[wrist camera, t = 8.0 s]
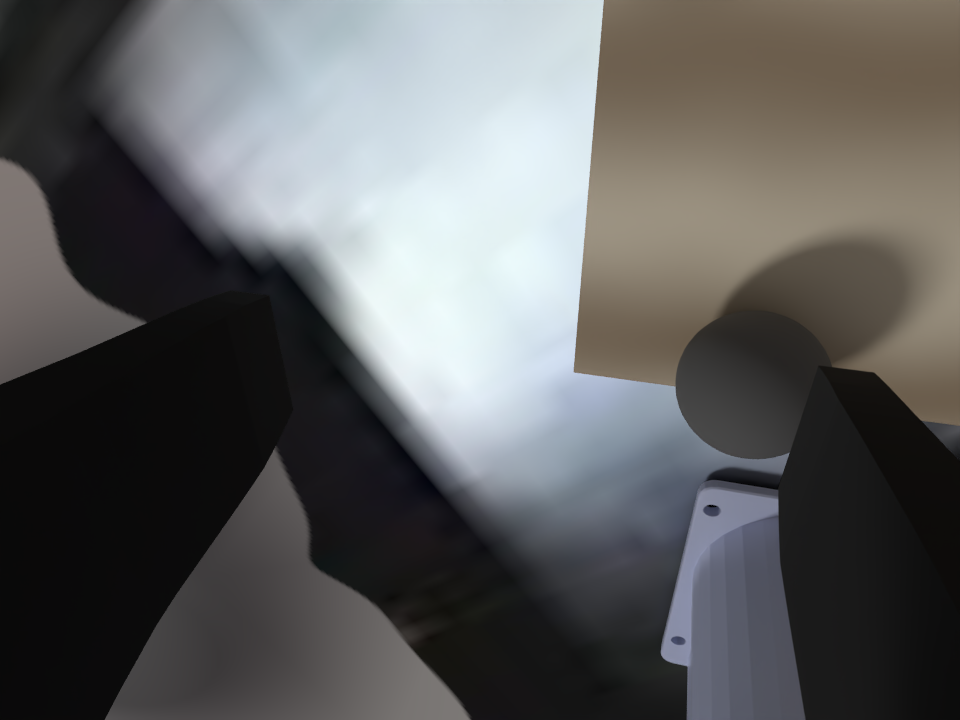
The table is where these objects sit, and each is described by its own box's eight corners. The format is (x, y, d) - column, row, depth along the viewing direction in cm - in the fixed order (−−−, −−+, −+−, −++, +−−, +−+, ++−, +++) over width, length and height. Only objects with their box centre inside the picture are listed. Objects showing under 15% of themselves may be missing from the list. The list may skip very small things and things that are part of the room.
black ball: (803, 407, 17) (821, 502, 15) (668, 388, 18) (662, 476, 15) (841, 292, 15) (869, 378, 13) (688, 276, 16) (686, 355, 13)
